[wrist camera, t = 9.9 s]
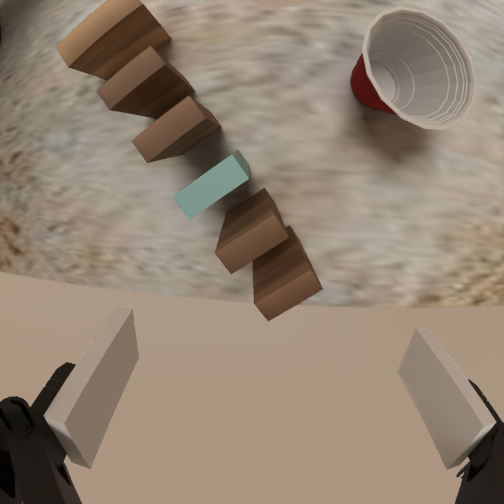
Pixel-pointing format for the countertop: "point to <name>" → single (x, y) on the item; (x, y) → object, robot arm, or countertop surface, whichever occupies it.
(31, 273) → the countertop surface
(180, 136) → the domino
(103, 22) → the block
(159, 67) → the domino
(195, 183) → the domino
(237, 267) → the domino
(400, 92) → the plastic cup
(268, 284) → the domino
